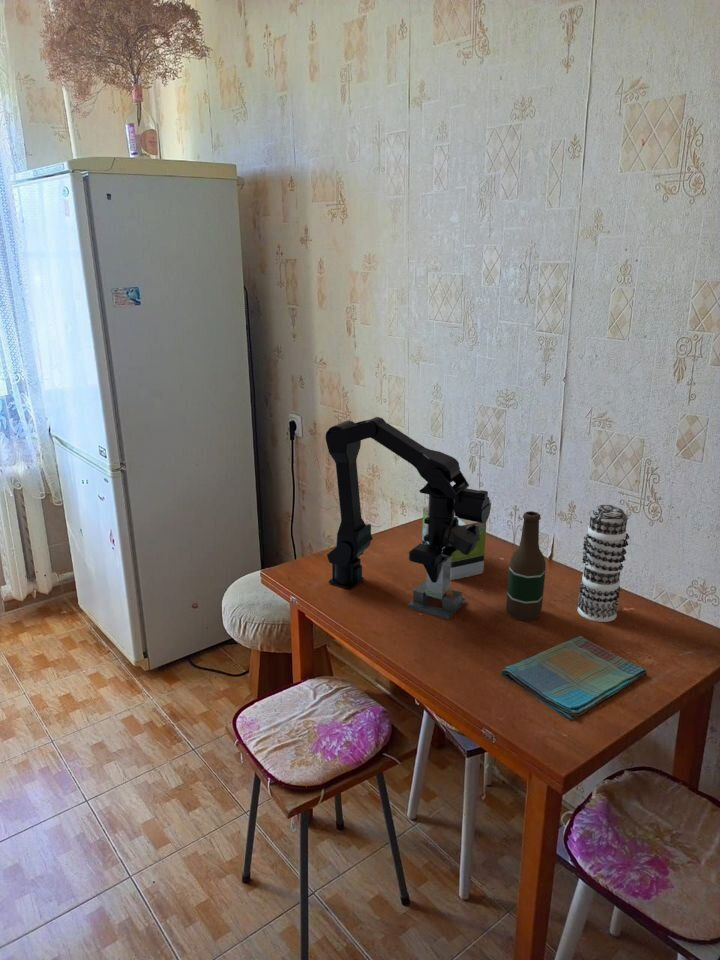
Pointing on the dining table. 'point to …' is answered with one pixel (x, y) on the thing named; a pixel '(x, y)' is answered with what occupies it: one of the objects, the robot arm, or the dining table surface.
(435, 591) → the grey rectangular block
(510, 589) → the beer bottle
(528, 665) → the dish towel
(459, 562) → the tea box
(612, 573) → the decorative candle
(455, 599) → the grey square frame
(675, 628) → the dining table surface
